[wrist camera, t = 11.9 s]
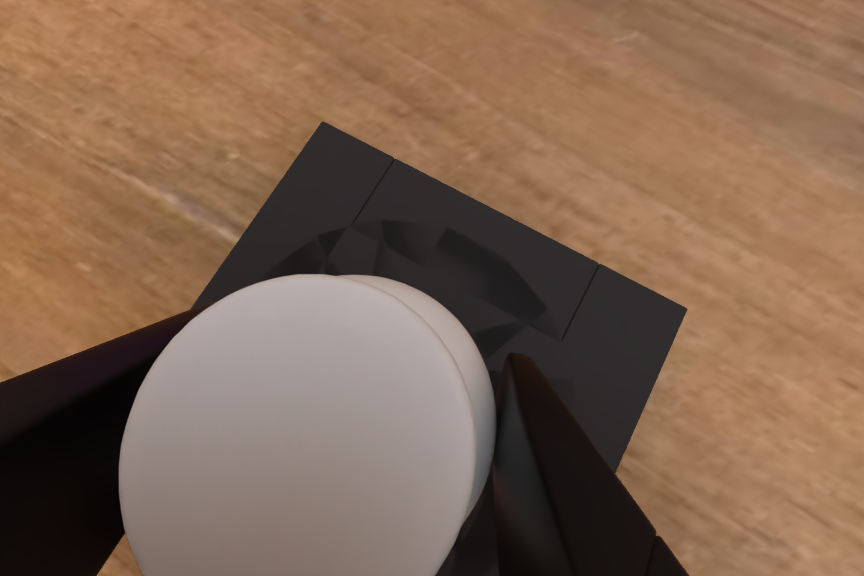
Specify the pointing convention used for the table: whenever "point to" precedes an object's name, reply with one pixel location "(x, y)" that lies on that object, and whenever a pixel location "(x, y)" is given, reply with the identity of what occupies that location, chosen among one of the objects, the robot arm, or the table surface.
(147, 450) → the pill bottle
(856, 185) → the table surface
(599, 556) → the robot arm
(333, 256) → the socket pad
